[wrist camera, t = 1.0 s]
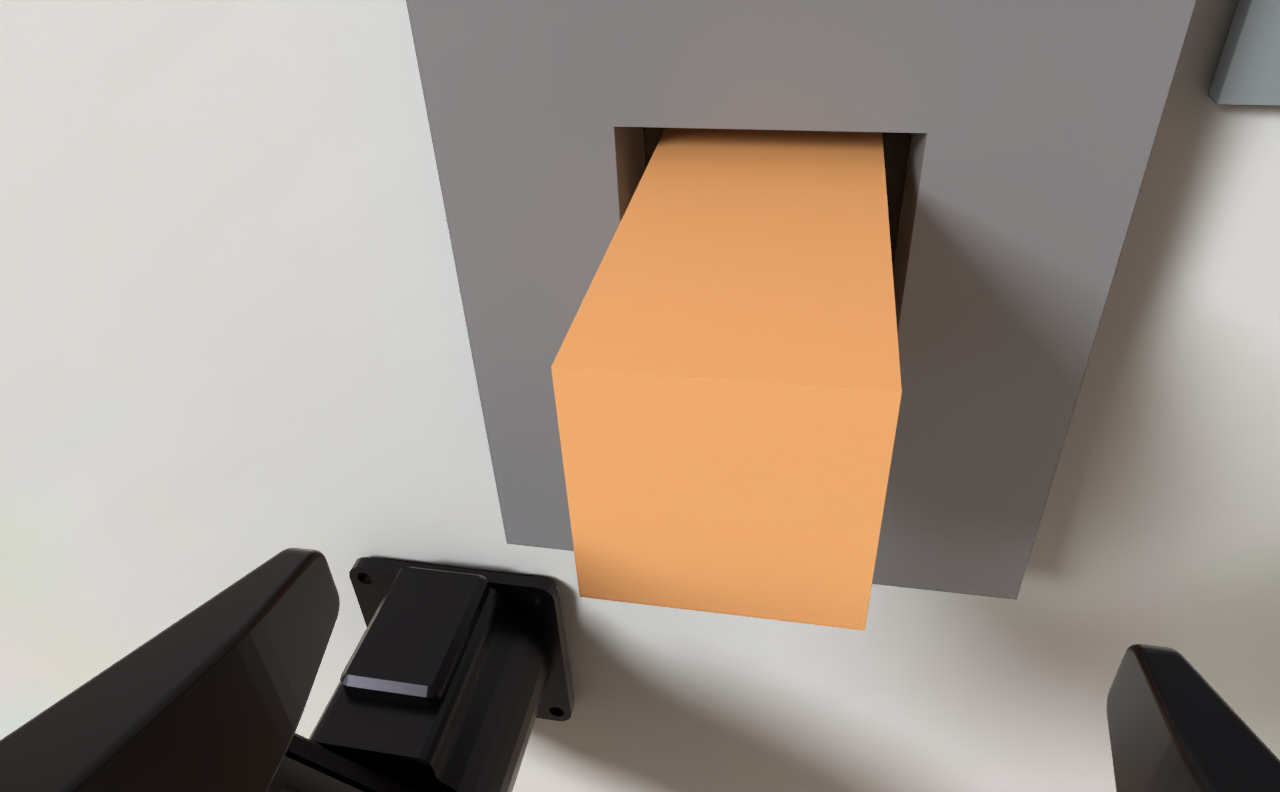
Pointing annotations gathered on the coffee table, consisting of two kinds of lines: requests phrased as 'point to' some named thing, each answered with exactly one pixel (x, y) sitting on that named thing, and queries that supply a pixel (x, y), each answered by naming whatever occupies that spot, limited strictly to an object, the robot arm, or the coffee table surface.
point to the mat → (1250, 57)
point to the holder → (928, 231)
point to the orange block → (737, 381)
